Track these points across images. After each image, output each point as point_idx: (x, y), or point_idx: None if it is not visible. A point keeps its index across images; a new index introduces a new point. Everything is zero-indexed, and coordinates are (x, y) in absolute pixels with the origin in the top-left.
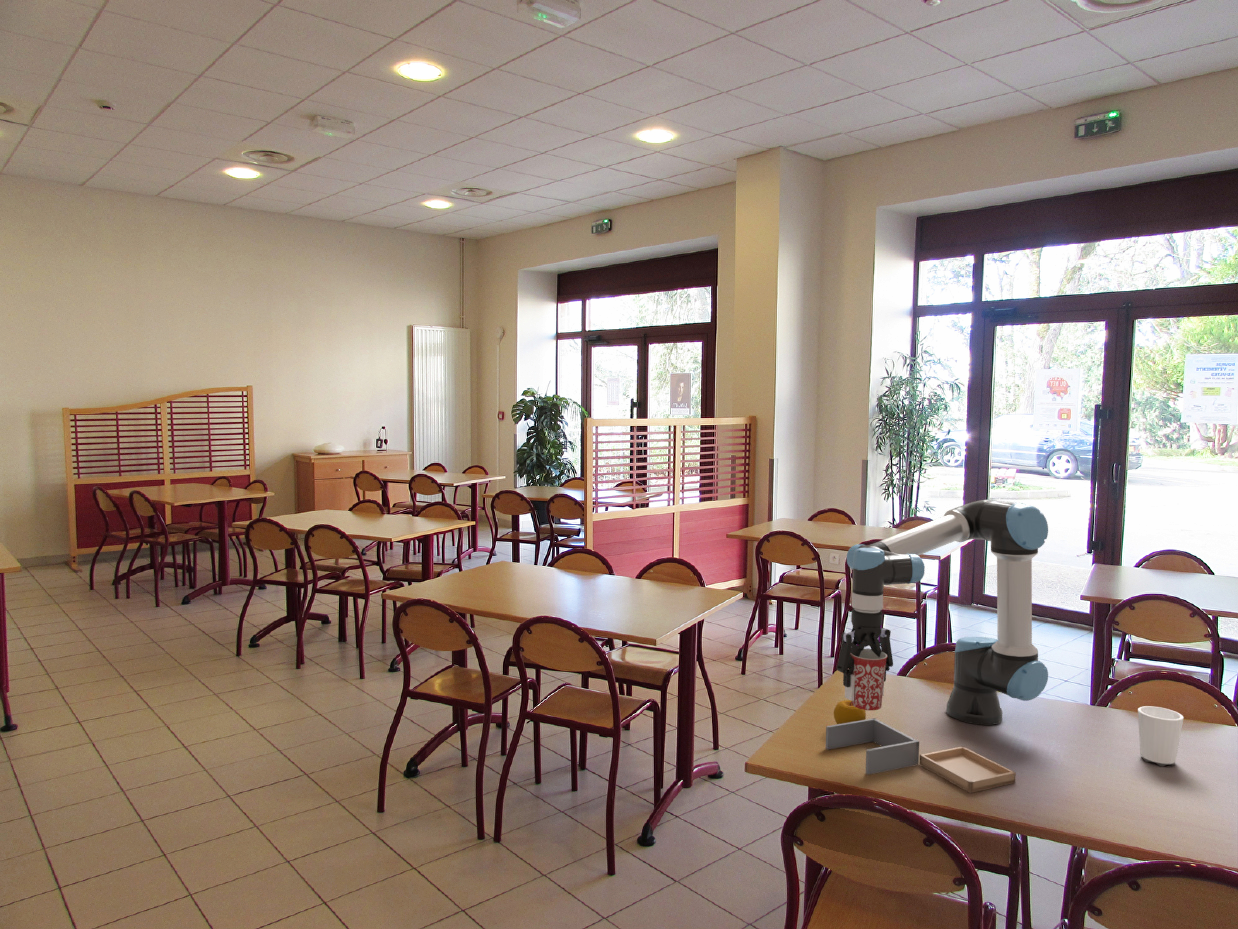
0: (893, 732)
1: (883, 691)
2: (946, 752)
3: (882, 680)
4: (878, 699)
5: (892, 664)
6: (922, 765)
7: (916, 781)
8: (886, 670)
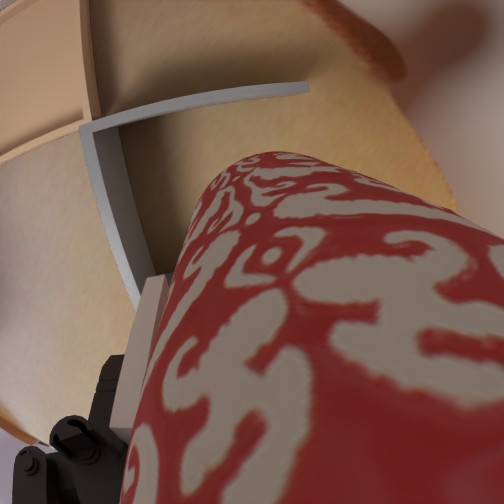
0: (119, 225)
1: (143, 294)
2: (20, 146)
3: (249, 224)
4: (263, 163)
5: (19, 462)
6: (100, 111)
7: (174, 28)
8: (88, 423)
